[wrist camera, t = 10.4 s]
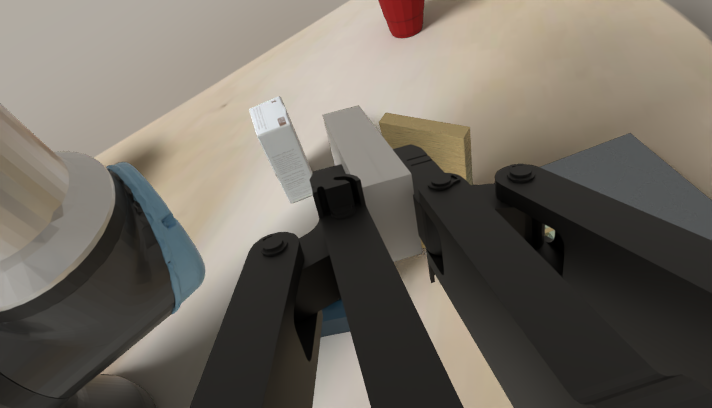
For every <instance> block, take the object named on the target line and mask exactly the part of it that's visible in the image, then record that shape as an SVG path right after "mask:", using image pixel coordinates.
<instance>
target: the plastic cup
mask: <svg viewBox="0 0 712 408" xmlns="http://www.w3.org/2000/svg"><path fill="white" fill-rule="evenodd" d="M379 3H380V6H381V9H382V12H383V15H384V17H385V19H386V21H387V24H388V27H389V30H390V32H391V33H392V35H393V36H394V37H397V38H407V37H411V36H414V35H415V34H417V33H419V32H420V31H421V29H422V24H423V10H424V0H379Z"/></svg>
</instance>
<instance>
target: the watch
mask: <svg viewBox="0 0 712 408" xmlns="http://www.w3.org/2000/svg"><path fill="white" fill-rule="evenodd" d="M322 314H323V320H322V329H321V337H324V336H329V335H334V334H339V333H344V332H350V328H349V324H348V321H347V317H346V313H345V310H344V306H343V302H342V299H339V300H337V301H336V302H334V303H332V304H330V305H329V306H327V307H325V308H324V309H322Z"/></svg>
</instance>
